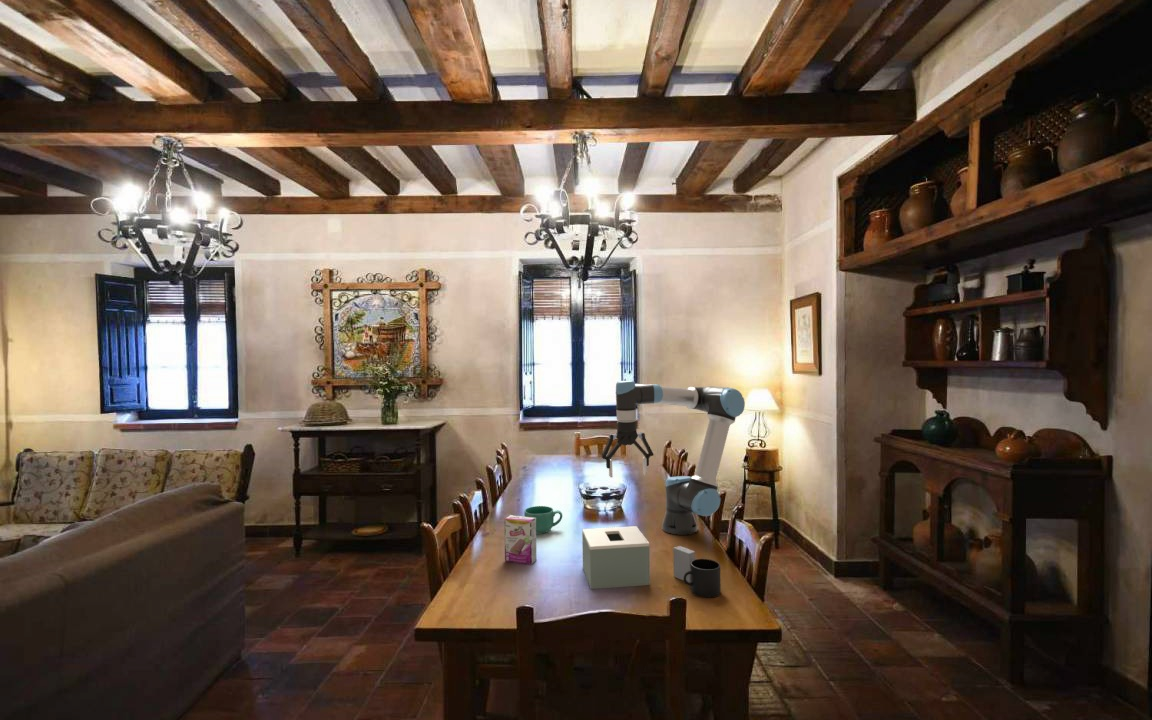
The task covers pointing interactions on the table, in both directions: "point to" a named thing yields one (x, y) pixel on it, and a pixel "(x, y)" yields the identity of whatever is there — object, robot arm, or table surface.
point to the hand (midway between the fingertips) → (628, 475)
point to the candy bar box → (520, 539)
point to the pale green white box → (615, 557)
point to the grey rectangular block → (682, 562)
